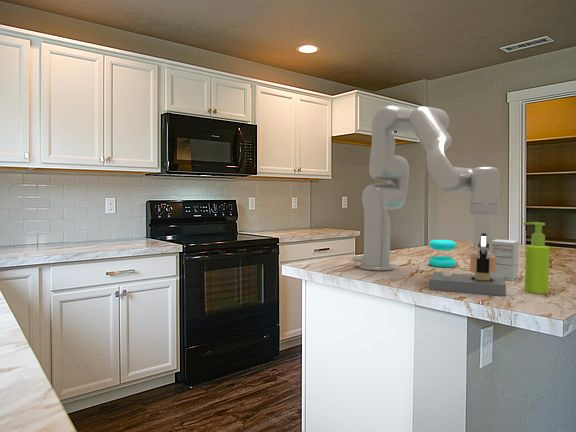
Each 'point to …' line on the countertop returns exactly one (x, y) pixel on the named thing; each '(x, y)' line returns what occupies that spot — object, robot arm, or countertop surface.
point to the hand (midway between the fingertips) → (482, 270)
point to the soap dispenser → (537, 262)
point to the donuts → (442, 260)
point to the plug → (482, 275)
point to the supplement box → (505, 258)
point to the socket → (467, 284)
